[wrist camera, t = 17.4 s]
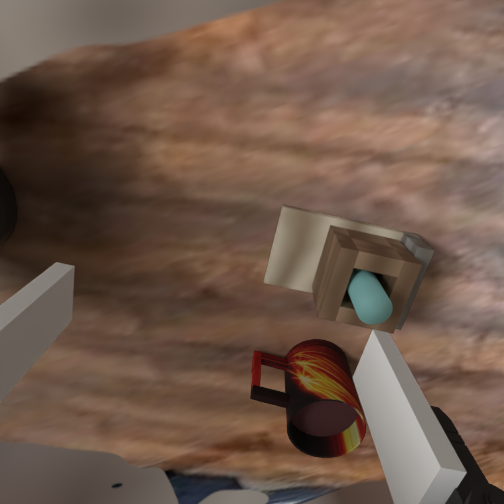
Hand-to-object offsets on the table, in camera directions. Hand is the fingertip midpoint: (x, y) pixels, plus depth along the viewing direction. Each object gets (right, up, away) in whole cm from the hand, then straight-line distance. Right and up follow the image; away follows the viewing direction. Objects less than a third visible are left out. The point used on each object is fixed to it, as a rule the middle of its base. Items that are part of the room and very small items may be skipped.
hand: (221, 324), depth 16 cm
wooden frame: (+12, +2, +33) cm, 36 cm away
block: (+15, +2, +33) cm, 36 cm away
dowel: (+15, +2, +33) cm, 36 cm away
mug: (+9, -14, +41) cm, 44 cm away
